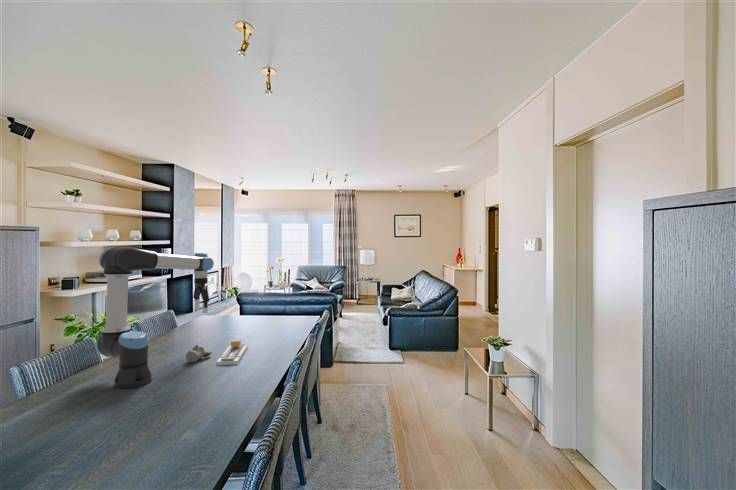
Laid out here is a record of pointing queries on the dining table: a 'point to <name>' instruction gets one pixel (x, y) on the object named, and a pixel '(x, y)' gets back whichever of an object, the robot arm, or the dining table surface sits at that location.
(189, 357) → the ceramic sculpture
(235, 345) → the fader
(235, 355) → the console
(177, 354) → the dining table surface
